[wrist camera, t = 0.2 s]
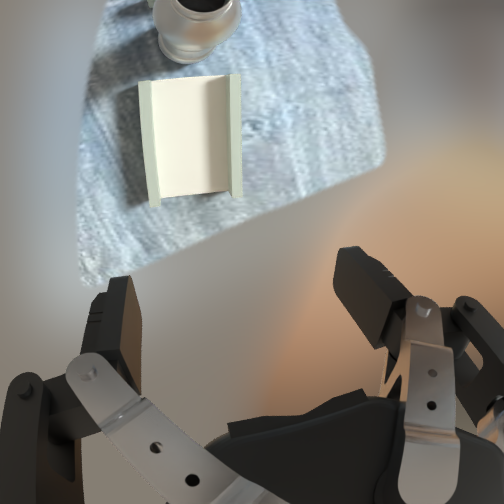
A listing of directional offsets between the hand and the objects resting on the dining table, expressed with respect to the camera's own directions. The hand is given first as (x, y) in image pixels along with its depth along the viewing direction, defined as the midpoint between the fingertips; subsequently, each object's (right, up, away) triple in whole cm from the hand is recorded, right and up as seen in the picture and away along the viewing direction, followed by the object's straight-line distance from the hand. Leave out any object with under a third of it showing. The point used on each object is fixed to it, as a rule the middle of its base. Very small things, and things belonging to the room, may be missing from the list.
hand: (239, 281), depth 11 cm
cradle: (-7, +14, +24) cm, 29 cm away
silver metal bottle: (-7, +26, +17) cm, 32 cm away
